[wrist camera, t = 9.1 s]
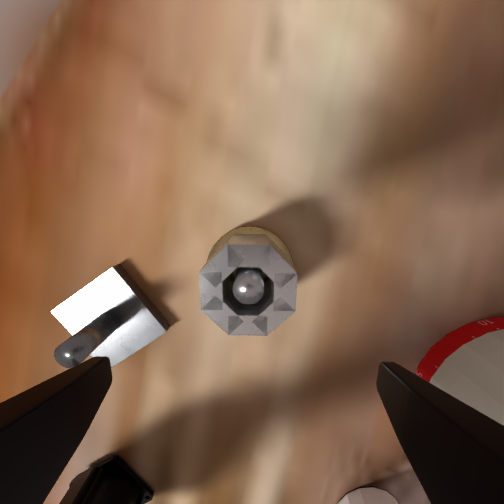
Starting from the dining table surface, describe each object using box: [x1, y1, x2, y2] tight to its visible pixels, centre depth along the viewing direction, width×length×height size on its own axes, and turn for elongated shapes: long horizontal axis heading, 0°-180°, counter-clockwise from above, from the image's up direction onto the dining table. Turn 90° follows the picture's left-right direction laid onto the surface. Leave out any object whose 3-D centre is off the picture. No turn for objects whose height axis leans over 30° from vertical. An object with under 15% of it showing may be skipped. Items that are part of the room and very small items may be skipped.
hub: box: [207, 226, 293, 304], centre depth 17 cm, size 7×7×5 cm
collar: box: [199, 234, 298, 336], centre depth 17 cm, size 6×6×4 cm
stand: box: [51, 264, 170, 368], centre depth 18 cm, size 7×7×6 cm
